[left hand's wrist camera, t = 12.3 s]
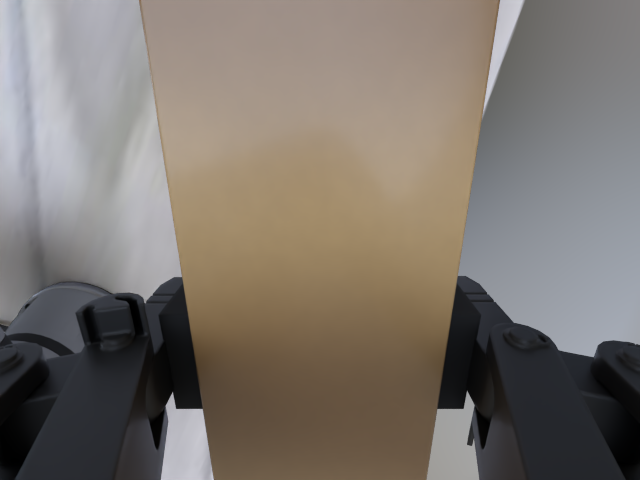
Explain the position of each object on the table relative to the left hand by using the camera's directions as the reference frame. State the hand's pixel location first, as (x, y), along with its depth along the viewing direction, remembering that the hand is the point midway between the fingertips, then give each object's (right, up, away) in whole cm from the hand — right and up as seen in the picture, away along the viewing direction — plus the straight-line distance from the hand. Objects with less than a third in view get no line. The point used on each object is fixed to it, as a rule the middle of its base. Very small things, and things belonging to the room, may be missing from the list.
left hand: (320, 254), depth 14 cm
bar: (0, +33, -12) cm, 35 cm away
